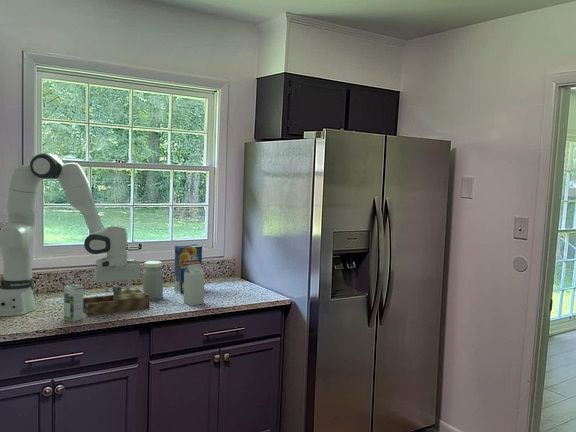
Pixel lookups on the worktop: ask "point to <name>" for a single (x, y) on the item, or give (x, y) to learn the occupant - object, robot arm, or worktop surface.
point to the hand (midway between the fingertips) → (116, 290)
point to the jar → (153, 279)
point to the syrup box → (73, 302)
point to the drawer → (126, 293)
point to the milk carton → (194, 285)
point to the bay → (113, 304)
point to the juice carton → (185, 263)
